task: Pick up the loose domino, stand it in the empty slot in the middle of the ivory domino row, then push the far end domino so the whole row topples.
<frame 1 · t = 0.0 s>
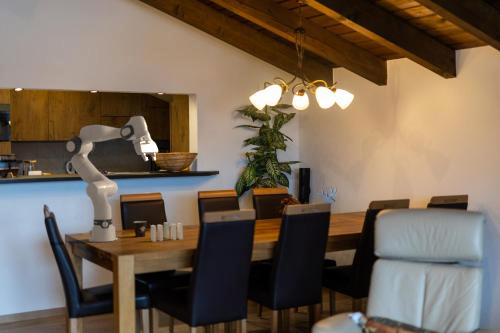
hand: (150, 160, 424), 52 cm above the table, tool tilted 20°, fingers open, 8 cm apart
coffee mug: (142, 236, 459), on the table
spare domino: (166, 237, 450), on the table
domino 4: (160, 240, 438), on the table
domino 2: (173, 239, 442), on the table
domino 5: (153, 241, 436), on the table
domino 1: (180, 238, 444), on the table
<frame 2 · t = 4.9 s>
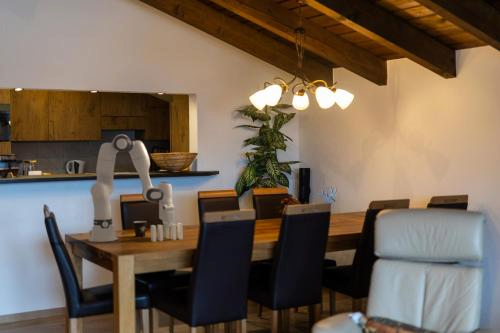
hand: (166, 227, 450), 7 cm above the table, tool pointing down, fingers closed on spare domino, 5 cm apart
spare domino: (166, 237, 450), on the table, touching gripper
everything else where it was.
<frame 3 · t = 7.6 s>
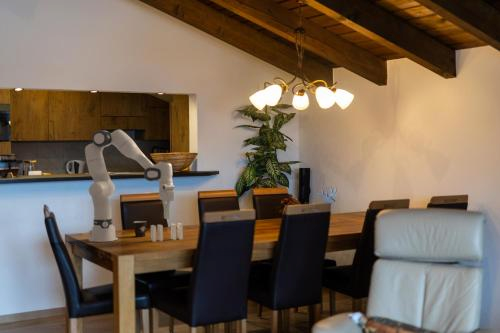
hand: (166, 207, 440), 21 cm above the table, tool pointing down, fingers closed on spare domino, 5 cm apart
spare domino: (166, 218, 440), point 14 cm above the table, touching gripper
everything else where it was.
when the fingers open (8 cm above the table, at t = 10.1 s): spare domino stays where it is, on the table.
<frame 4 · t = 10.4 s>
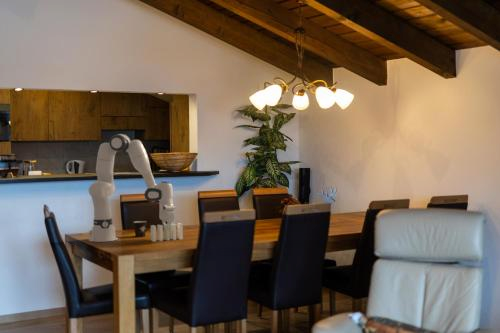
hand: (166, 227, 440), 8 cm above the table, tool pointing down, fingers open, 8 cm apart
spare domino: (167, 239, 440), on the table
everything else where it was.
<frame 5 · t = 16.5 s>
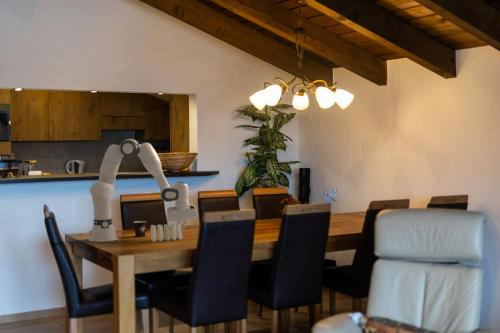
hand: (182, 227, 445), 7 cm above the table, tool pointing down, fingers closed
domino 1: (180, 238, 444), on the table, tilted 8°
everything else where it was.
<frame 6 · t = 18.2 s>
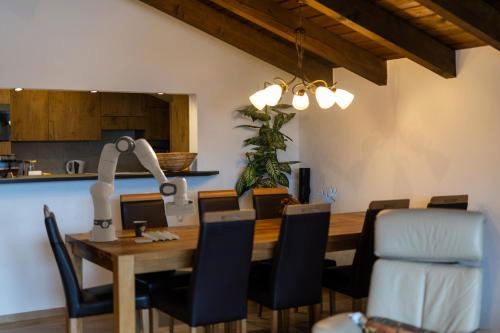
hand: (180, 222, 444), 11 cm above the table, tool pointing down, fingers closed
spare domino: (164, 238, 439), point 1 cm above the table, tilted 65°, touching domino 2
domino 4: (156, 239, 437), point 1 cm above the table, tilted 66°
domino 2: (170, 238, 441), point 1 cm above the table, tilted 64°, touching domino 1, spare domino
domino 5: (151, 240, 436), on the table, tilted 90°
domino 1: (177, 237, 443), point 1 cm above the table, tilted 64°, touching domino 2
everything else where it was.
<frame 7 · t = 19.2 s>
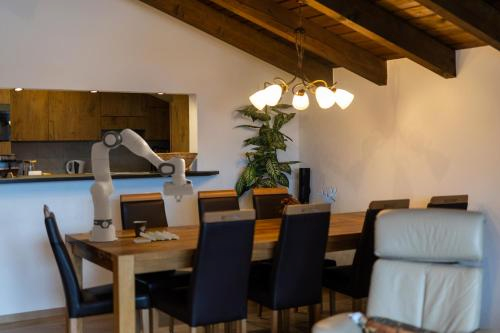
hand: (178, 202, 447), 24 cm above the table, tool pointing down, fingers closed
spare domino: (163, 238, 439), point 1 cm above the table, tilted 67°, touching domino 2, domino 4
domino 4: (155, 239, 437), point 1 cm above the table, tilted 67°, touching domino 5, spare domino
domino 5: (150, 240, 436), on the table, tilted 90°, touching domino 4
domino 1: (177, 237, 443), point 1 cm above the table, tilted 66°, touching domino 2
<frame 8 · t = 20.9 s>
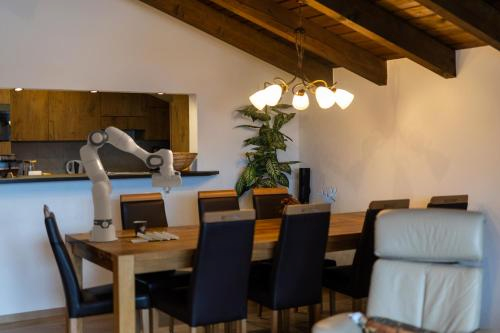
hand: (167, 193, 453), 29 cm above the table, tool pointing down, fingers closed
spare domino: (161, 238, 439), point 1 cm above the table, tilted 68°, touching domino 2, domino 4
domino 4: (151, 238, 437), point 1 cm above the table, tilted 69°, touching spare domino
domino 2: (168, 238, 440), point 1 cm above the table, tilted 67°, touching domino 1, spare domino
domino 5: (147, 240, 436), on the table, tilted 90°
at the end: domino 5 tilted 90°; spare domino tilted 67°; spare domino inside the target area (4.3 cm from its centre), point 0.9 cm above the table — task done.
